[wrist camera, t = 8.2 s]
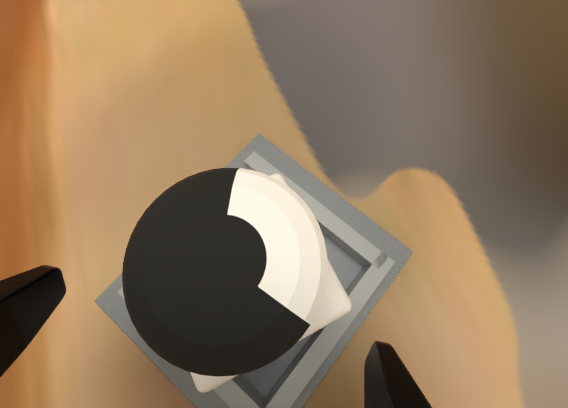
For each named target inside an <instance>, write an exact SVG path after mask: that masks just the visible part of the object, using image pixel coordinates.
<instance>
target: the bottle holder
mask: <svg viewBox="0 0 568 408" xmlns="http://www.w3.org/2000/svg"><path fill="white" fill-rule="evenodd" d="M226 168H242V169H249V170H254V171H257V172H261V173H264V174H266V175H269V176H270V175H272V174H276V173H278V174H281V175H282V176H283V178H284V179H285V181H286V183H287V185H288V187H289V188H291V189H292V190H293V191H294V192H296V193H297V194H298V195H299V196H300V197H301V199H302V200H303V201H304V202H305V203H306V204H307V206H308V207H309V208H310V210H311V211H312V213H313V214H314V216H315V218H316V220H317V222H318V224H319V226H320V229H321V231H322V234H323V237H324V241H325V246H326V251H327V258H328V260H329V262H330V264H331V266H332V268H333V269H334V271H335V273H336V275H337V277H338V279H339V280H340V282H341V284H342V286H343V288H344V290H345V292H346V293H347V295H348V297H349V299H350V301H351V304H352V308H351V311H350V312H349V313H348V314H346V315H344V316H343V317H341V318H339V319H337V320H335V321H334V322H332V323H330V324H328V325H327V326H325V327H323V328H321V329H319V330H318V331H316V332H314V333H312V334H310V335H309V336H307V337H305V338H303V339H302V340H300V341H298V342H297V343H296V344H295V345H294V346H293V347H292V348H291V349H290V350H288V351H287V352H286V353H284V354H283V355H282V356H281V357H279V358H278V359H276V360H274V361H273V362H271V363H269V364H267V365H266V366H264V367H261V368H259V369H256V370H253V371H251V372H248V373H243V374H239V375H237V376H235V377H234V378H232V379H230V380H228V381H226V382H225V383H223V384H221V385H219V386H218V387H216V388H214V389H212V390H210V391H209V392H205V393H202V392H199V391H198V390H197V388H196V386H195V384H194V381H193V378H192V376H191V373H190V372H188V371H185V370H183V369H181V368H178V367H176V366H174V365H172V364H170V363H169V362H167V361H166V360H164V359H163V358H161V357H160V356H159V355H157V354H156V353H155V352H154V351H153V350H152V349H151V348H150V347H149V346H148V345H147V344H146V343H145V341H144V340H143V339H142V338H141V336H140V335H139V333H138V332H137V330H136V328H135V326H134V325H133V323H132V321H131V318H130V316H129V313H128V310H127V308H126V303H125V299H124V294H123V283H122V274H121V275H120V276H119V277H118V278H117V279H116V280H115V281H114V282H113V283H112V284H111V285H110V286H109V287H108V288H107V289H106V290H105V291H104V292H103V293H102V294H101V295H100V296H99V297H98V298H97V299H96V300H95V302H96V303H97V305H98V306H99V307H100V308H101V309H102V310H103V311H104V312H105V313H106V314H107V315H108V316H109V317H110V318H111V319H112V320H113V321H114V322H115V323H116V324H117V325H118V327H119V328H120V329H121V330H122V331H123V332H124V333H125V334H126V335H127V336H128V337H129V338H130V339H131V340H132V341H133V342H134V343H135V344H136V345H137V346H138V347H139V349H140V350H141V351H142V352H143V353H144V354H145V355H146V356H147V357H148V358H149V359H150V360H151V361H152V362H153V363H154V364H155V365H156V366H157V367H158V368H159V369H160V371H161V372H162V373H163V374H164V375H165V376H166V377H167V378H168V379H169V380H170V381H171V382H172V383H173V384H174V385H175V386H176V387H177V388H178V389H179V390H180V391H181V393H182V394H183V395H184V396H185V397H186V398H187V399H188V400H189V401H190V402H191V403H192V404H193V405H194V406H195V407H196V408H302V407H303V406H304V404H305V403H306V401H307V400H308V399H309V397H310V396H311V394H312V393H313V392H314V390H315V389H316V387H317V386H318V385H319V383H320V382H321V380H322V379H323V378H324V376H325V375H326V373H327V372H328V371H329V369H330V368H331V366H332V365H333V364H334V362H335V361H336V359H337V358H338V357H339V355H340V354H341V352H342V351H343V349H344V348H345V347H346V345H347V344H348V342H349V341H350V340H351V338H352V337H353V335H354V334H355V333H356V331H357V330H358V328H359V327H360V326H361V324H362V323H363V321H364V320H365V319H366V317H367V316H368V314H369V313H370V312H371V310H372V309H373V307H374V306H375V305H376V303H377V302H378V300H379V299H380V298H381V296H382V295H383V293H384V292H385V291H386V289H387V288H388V286H389V285H390V284H391V282H392V281H393V279H394V278H395V276H396V275H397V274H398V272H399V271H400V269H401V268H402V267H403V265H404V264H405V262H406V261H407V260H408V258H409V257H410V255H411V254H412V253H413V251H411V250H410V249H409V248H407V247H406V246H405V245H403V244H402V243H401V242H400V241H398V240H397V239H396V238H394V237H393V236H392V235H390V234H389V233H388V232H387V231H385V230H384V229H383V228H381V227H380V226H379V225H377V224H376V223H375V222H374V221H372V220H371V219H370V218H368V217H367V216H366V215H364V214H363V213H362V212H361V211H359V210H358V209H357V208H355V207H354V206H353V205H351V204H350V203H349V202H348V201H346V200H345V199H344V198H342V197H341V196H340V195H338V194H337V193H336V192H335V191H333V190H332V189H331V188H329V187H328V186H327V185H325V184H324V183H323V182H322V181H320V180H319V179H318V178H316V177H315V176H314V175H312V174H311V173H310V172H309V171H307V170H306V169H305V168H303V167H302V166H301V165H299V164H298V163H297V162H296V161H294V160H293V159H292V158H290V157H289V156H288V155H286V154H285V153H284V152H283V151H281V150H280V149H279V148H277V147H276V146H275V145H273V144H272V143H271V142H270V141H268V140H267V139H266V138H264V137H263V136H262V135H260V134H258V135H257V136H256V137H255V138H254V139H253V140H252V141H251V142H250V143H249V144H248V145H247V146H246V147H245V148H244V149H243V150H242V152H241V153H240V154H239V155H238V156H237V157H236V158H235V159H234V160H233V161H232V162H231V163H230V164H229V165H228V166H227V167H226Z"/></svg>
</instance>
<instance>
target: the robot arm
mask: <svg viewBox="0 0 568 408" xmlns="http://www.w3.org/2000/svg"><path fill="white" fill-rule="evenodd" d="M65 293H66V286H65V282H64V278H63V275H62V271H61V270H60V269H59V268H57V267H53V266H49V265H43V266H39V267H37V268H34V269H31V270H28V271H26V272H23V273H20V274H17V275H15V276H12V277H9V278H6V279H4V280H1V281H0V377H1V376H2V375H3V374H4V373H5V372H6V370H7V369H8V368H9V367H10V366H11V365H12V364H13V362H14V361H15V360H16V359H17V358H18V357H19V356H20V354H21V353H22V352H23V351H24V350H25V348H26V347H27V346H28V345H29V343H30V342H31V341H32V339H33V338H34V337H35V335H36V334H37V333H38V331H39V330H40V329H41V327H42V326H43V325H44V323H45V322H46V320H47V319H48V318H49V316H50V315H51V314H52V312H53V311H54V310H55V308H56V307H57V305H58V304H59V303H60V301H61V300H62V299H63V297H64V295H65ZM364 408H432V407H431V405H430V404H429V402H428V401H427V399H426V398H425V396H424V394H423V393H422V391H421V390H420V388H419V387H418V385H417V384H416V382H415V381H414V379H413V378H412V376H411V374H410V373H409V371H408V370H407V368H406V367H405V365H404V364H403V362H402V361H401V359H400V358H399V356H398V354H397V353H396V351H395V350H394V348H393V347H392V346H391V345H390V344H388V343H384V342H380V341H375V342H374V343H373V345H372V347H371V349H370V351H369V354H368V356H367V358H366V361H365V369H364Z"/></svg>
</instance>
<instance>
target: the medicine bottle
mask: <svg viewBox="0 0 568 408" xmlns="http://www.w3.org/2000/svg"><path fill="white" fill-rule="evenodd" d="M122 283H123V294H124V299H125V303H126V308H127V310H128V313H129V316H130V318H131V321H132V323H133V325H134V326H135V328H136V330H137V332H138V333H139V335H140V336H141V338H142V339H143V340H144V341H145V343H146V344H147V345H148V346H149V347H150V348H151V349H152V350H153V351H154V352H155V353H156V354H157V355H159V356H160V357H161V358H163V359H164V360H166V361H167V362H169V363H170V364H172V365H174V366H176V367H178V368H181V369H183V370H185V371H188V372H190V373H191V376H192V378H193V381H194V384H195V386H196V388H197V390H198V391H199V392H202V393H205V392H209V391H210V390H212V389H214V388H216V387H218V386H219V385H221V384H223V383H225V382H226V381H228V380H230V379H232V378H234V377H235V376H237V375H239V374H243V373H248V372H251V371H253V370H256V369H259V368H261V367H264V366H266V365H267V364H269V363H271V362H273V361H274V360H276V359H278V358H279V357H281V356H282V355H283V354H284V353H286V352H287V351H288V350H290V349H291V348H292V347H293V346H294V345H295V344H296V343H297V342H298V341H300V340H302V339H303V338H305V337H307V336H309V335H310V334H312V333H314V332H316V331H318V330H319V329H321V328H323V327H325V326H327V325H328V324H330V323H332V322H334V321H335V320H337V319H339V318H341V317H343V316H344V315H346V314H348V313H349V312H350V311H351V308H352V304H351V301H350V299H349V297H348V295H347V293H346V292H345V290H344V288H343V286H342V284H341V282H340V280H339V279H338V277H337V275H336V273H335V271H334V269H333V268H332V266H331V264H330V262H329V260H328V258H327V251H326V246H325V241H324V237H323V234H322V231H321V229H320V226H319V224H318V222H317V220H316V218H315V216H314V214H313V213H312V211H311V210H310V208H309V207H308V206H307V204H306V203H305V202H304V201H303V200H302V199H301V197H300V196H299V195H298V194H297V193H296V192H294V191H293V190H292V189H291V188H289V187H288V185H287V183H286V181H285V179H284V178H283V176H282V175H281V174H278V173H276V174H272V175H270V176H269V175H266V174H264V173H261V172H257V171H254V170H249V169H242V168H220V169H212V170H208V171H204V172H200V173H197V174H195V175H192V176H189V177H187V178H185V179H183V180H181V181H179V182H177V183H176V184H174V185H173V186H171V187H170V188H168V189H167V190H166V191H164V192H163V193H162V194H161V195H160V196H159V197H158V198H156V199H155V200H154V201H153V203H152V204H151V205H150V206H149V207H148V208H147V209H146V211H145V212H144V213H143V215H142V216H141V218H140V219H139V221H138V222H137V224H136V226H135V228H134V230H133V232H132V234H131V237H130V239H129V242H128V245H127V248H126V252H125V257H124V262H123V273H122Z"/></svg>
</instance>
